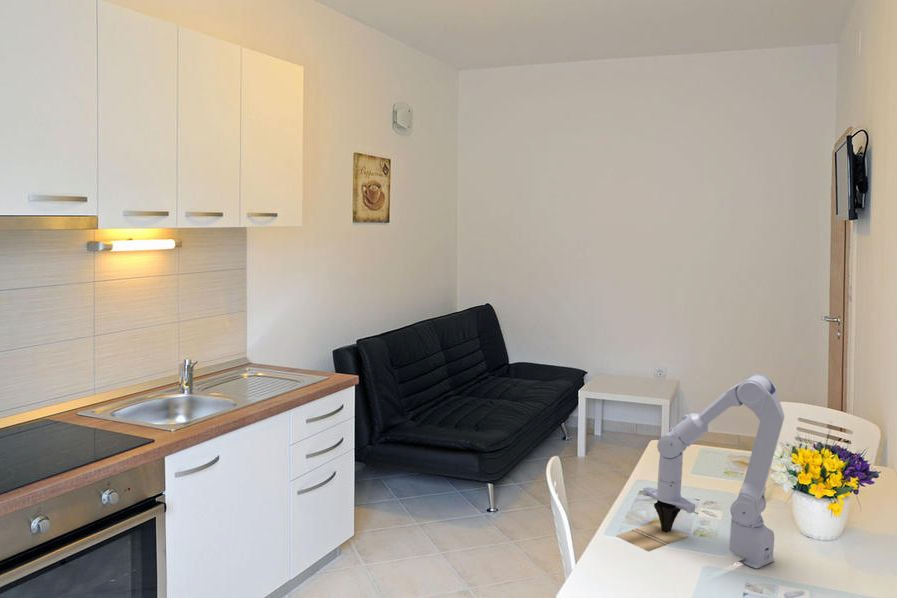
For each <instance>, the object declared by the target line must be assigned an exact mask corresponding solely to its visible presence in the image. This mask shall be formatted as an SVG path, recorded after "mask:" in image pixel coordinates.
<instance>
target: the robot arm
mask: <svg viewBox="0 0 897 598" xmlns="http://www.w3.org/2000/svg"><path fill="white" fill-rule="evenodd" d="M780 401H781V400H780V398H779V395H778V388H777V386H775V384H774V383H773V382H772V381H771V379H770V378H769V377H768V376H766V375H764V374H760V373H755V374H752V375H750V376H749V377H748V378H746V379H745V380H742V381H741V382H739V383H737V384H736V385H734V386H732V387H730V388H728V389H727V390H726V391H724V392H723V393H722V394H721V395H720V396H719V397H717V398H716V399H715V400H714V401H713V402H712V403H710V404H709V405H708V406H707V407H706V408H705V409H704V410H702V411H701V412H700V413H695V412H694V413H693V412H692V413H689V414H687V413H686V414H685V415H684V416H682V420H681V421H680V422H679V423H677V425H675V426H671V427H670V428H669V429H668V431H669V432H667V433H665V434H664V435H661V437H660V438H659V440H658V441H657V446H656V448H657V451H658V453H659V459H658V470H657V471H658V474H657V489H656V488H653V487H649V486H646V487H644V488H643V490H642V496H644V497H649V498H652V499H655V500H657V501H656V502H654V504H653V507H654V509H655V511H656V513H657V516H658V518H659V523H660V525H661V529H662V531H663V532H666V533H667V532H669V531H671V529H672V528H673V525H674V522H675V519H676V518H677V516H678V515H679V513H680V511H685V512H686V513H688V514H692V513H693V512H696V504H694V503H692V502H691V501H689V500H687V499H685V498H684V497H683V496H682V495H681V493H682V492H681V491H682V476H683V466H684V465H683V457H684V456H683V455H684V453H683V452H684V451H685V450H686V449H687V448H689V447H690V446H691V445H693V444H694V443H695V442H696V441H698V440H699V439H700V438H701V437H702V436H704V435H706V434H707V433H708V432H709V423H711V422H713V420H715V419H716V418H717V417H718V418H719V416H720V415H721V414H722V413H724V412H726V411H727V410H728V409H729V408H731V407H741V406H742V405H744V406H746V407H747V408H748V409H749V410H751V411H752V412H753V413H754V414H755V416H756V417H757V419H758V420H759V423H758V428H757V432H756V435H755V440H754V442H753V446H752V451H751V454H750V458H749V462H748V465H747V469H746V473H745V474H744V475H745V476H744V480H743V484H742V486H741V488H740V490H739V492H738V495H737V498H736V499H735V500H734V501H733V502H732V503H731V506H730V509H729V510H730V515H731V518H730V533H729V544H728V545H729V548H728V549H729V551H730V553H732V554H733V555H736V556H737V557H741V558H743V559H741V560H738V562H739V563H741V564H744V565H746V566H748V567H751V568H753V569H760V568H762V567H764V566H766V565H768V564H771V563H772V562H775V558H774V548H775V547H774V546H775V534H774V531H773V530H772V529H770V528H769V527H767V526H766V525H765V523H764V522H765V521H764V519H763V516H762V515H761V514H762V513H763V512H764V511H765V510H766V505H767V501H766V497H765V494H766V490H767V489H766V487H767V486H766V484H767V481H768V477H769V474H770V470H771V467H772V464H773V463H772V462H773V459H774V456H775V453H776V449H777V445H778V443H779V442H778V441H779V438H780V435H781V430H782V427H783V423H784V420H785V413H784V410H783V406H782V405H781V404H782V403H781V402H780Z"/></svg>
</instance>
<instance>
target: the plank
mask: <svg viewBox="0 0 897 598" xmlns="http://www.w3.org/2000/svg"><path fill="white" fill-rule="evenodd" d="M633 530H636V531H638V532H640V533H642V534H645V535H647V536H649V537H651V538H654V539H656V540H658V541H661V542H663V543H665V544H667V545H670V544H673V543H676V542H678V541H682V540H684V539H687V538H689V536H687V535H686V534H683V533H681V532H679V531H676V530H674V529H672V528H671V531H669V532H667V533H666V532H663V531H662V529H661V524H659V523H657V522H652V523H649V524H646V525H643V526H640V527H637V528H635V529H633Z"/></svg>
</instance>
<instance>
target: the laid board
mask: <svg viewBox="0 0 897 598" xmlns="http://www.w3.org/2000/svg"><path fill="white" fill-rule="evenodd" d="M615 537H617V538H618V539H621V540H623V541H625V542H627V543H630V544H632V545H634V546H636V547H638V548H640V549H643V550H645V551H647V552H652V551H653V550H657V549H659V548H663V547H665V546H667V545H668V544H666V543H664V542H661V541H659V540H657V539H655V538H652V537H650V536H648V535H646V534H643V533H641V532H639V531H636V530H634V529H631V530H629V531H626V532H623V533H620V534H617V535H615Z"/></svg>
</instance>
